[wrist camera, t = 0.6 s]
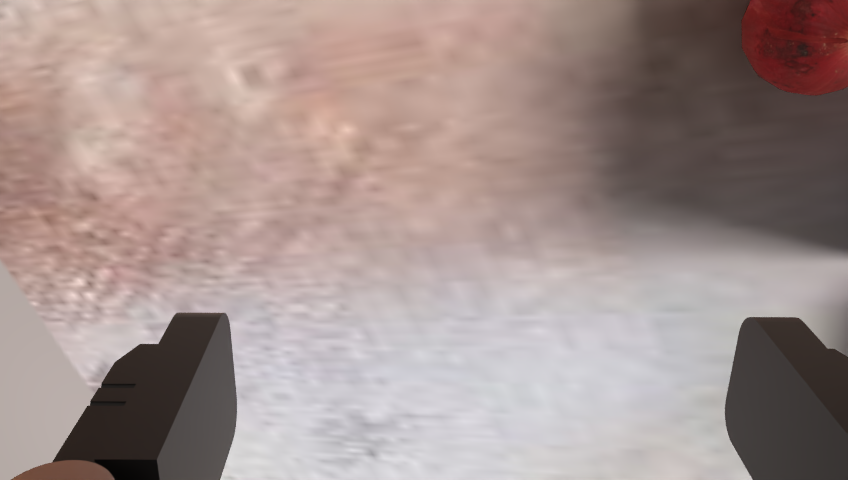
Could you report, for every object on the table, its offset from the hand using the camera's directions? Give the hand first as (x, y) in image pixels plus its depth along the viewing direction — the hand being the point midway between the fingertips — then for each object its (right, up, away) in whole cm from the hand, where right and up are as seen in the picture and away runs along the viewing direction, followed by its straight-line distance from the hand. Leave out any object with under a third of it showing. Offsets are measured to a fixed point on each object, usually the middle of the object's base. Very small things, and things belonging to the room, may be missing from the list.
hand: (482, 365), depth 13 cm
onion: (+16, +13, +26) cm, 33 cm away
